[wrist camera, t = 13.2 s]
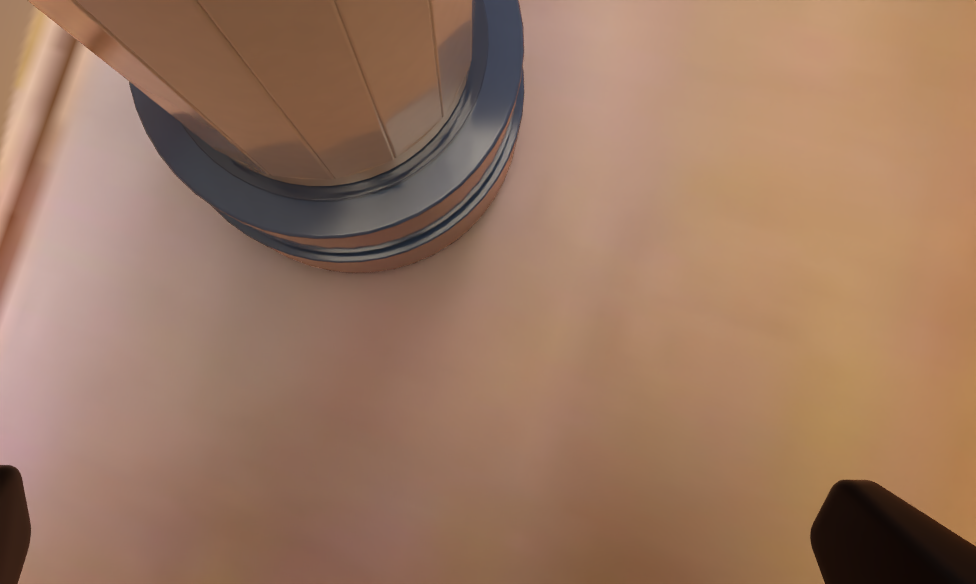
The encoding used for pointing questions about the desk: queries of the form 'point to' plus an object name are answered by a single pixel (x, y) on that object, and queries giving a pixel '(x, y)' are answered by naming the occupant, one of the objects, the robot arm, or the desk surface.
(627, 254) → the desk surface
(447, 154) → the round ridged metallic base
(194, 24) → the cup
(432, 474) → the desk surface
